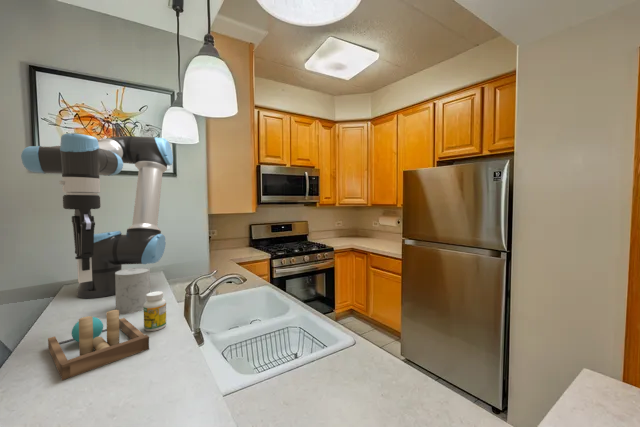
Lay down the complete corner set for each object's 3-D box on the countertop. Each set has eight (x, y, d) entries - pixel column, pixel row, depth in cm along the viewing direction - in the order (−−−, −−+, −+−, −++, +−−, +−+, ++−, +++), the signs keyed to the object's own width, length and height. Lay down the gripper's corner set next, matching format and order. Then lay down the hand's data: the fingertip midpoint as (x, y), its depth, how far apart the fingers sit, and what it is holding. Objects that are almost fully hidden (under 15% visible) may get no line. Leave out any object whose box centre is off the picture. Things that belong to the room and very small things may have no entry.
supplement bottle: (170, 324, 78) (170, 291, 78) (155, 332, 73) (155, 297, 73) (154, 322, 80) (154, 289, 79) (138, 330, 74) (138, 295, 74)
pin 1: (78, 355, 62) (77, 318, 62) (92, 351, 64) (91, 315, 64) (80, 359, 60) (80, 321, 60) (94, 354, 62) (93, 318, 62)
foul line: (54, 344, 67) (54, 343, 67) (117, 326, 77) (117, 325, 77) (54, 345, 66) (54, 344, 66) (118, 327, 76) (118, 326, 76)
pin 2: (105, 346, 66) (105, 312, 66) (117, 342, 68) (117, 309, 67) (108, 350, 64) (108, 314, 64) (120, 346, 66) (120, 311, 66)
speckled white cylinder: (156, 303, 95) (156, 268, 94) (135, 314, 85) (135, 275, 85) (131, 302, 96) (130, 267, 95) (107, 312, 86) (107, 274, 86)
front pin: (91, 338, 65) (100, 350, 60) (103, 335, 67) (114, 346, 62) (90, 348, 65) (100, 361, 60) (103, 344, 67) (113, 357, 62)
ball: (71, 331, 63) (75, 352, 65) (103, 320, 68) (107, 340, 69) (67, 318, 67) (72, 339, 69) (98, 308, 71) (101, 328, 73)
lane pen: (48, 348, 65) (48, 336, 65) (124, 326, 77) (124, 316, 76) (62, 380, 53) (61, 365, 53) (149, 348, 65) (148, 336, 65)
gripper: (58, 193, 74) (62, 279, 75) (67, 194, 65) (71, 290, 67) (93, 194, 79) (96, 273, 81) (106, 194, 71) (109, 283, 73)
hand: (85, 281), depth 74 cm, fingers closed
